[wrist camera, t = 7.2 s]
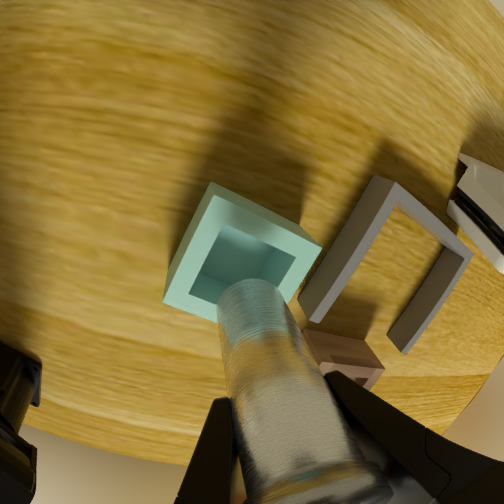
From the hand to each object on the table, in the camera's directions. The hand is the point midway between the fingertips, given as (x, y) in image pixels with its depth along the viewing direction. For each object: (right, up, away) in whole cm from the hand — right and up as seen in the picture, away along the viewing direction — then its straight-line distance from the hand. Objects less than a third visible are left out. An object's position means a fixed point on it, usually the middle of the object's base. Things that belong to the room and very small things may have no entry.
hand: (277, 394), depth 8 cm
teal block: (-2, +4, +11) cm, 12 cm away
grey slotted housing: (+22, +8, +14) cm, 28 cm away
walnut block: (+5, -5, +16) cm, 17 cm away
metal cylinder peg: (-1, +2, +4) cm, 5 cm away
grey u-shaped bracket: (+9, +3, +13) cm, 16 cm away
